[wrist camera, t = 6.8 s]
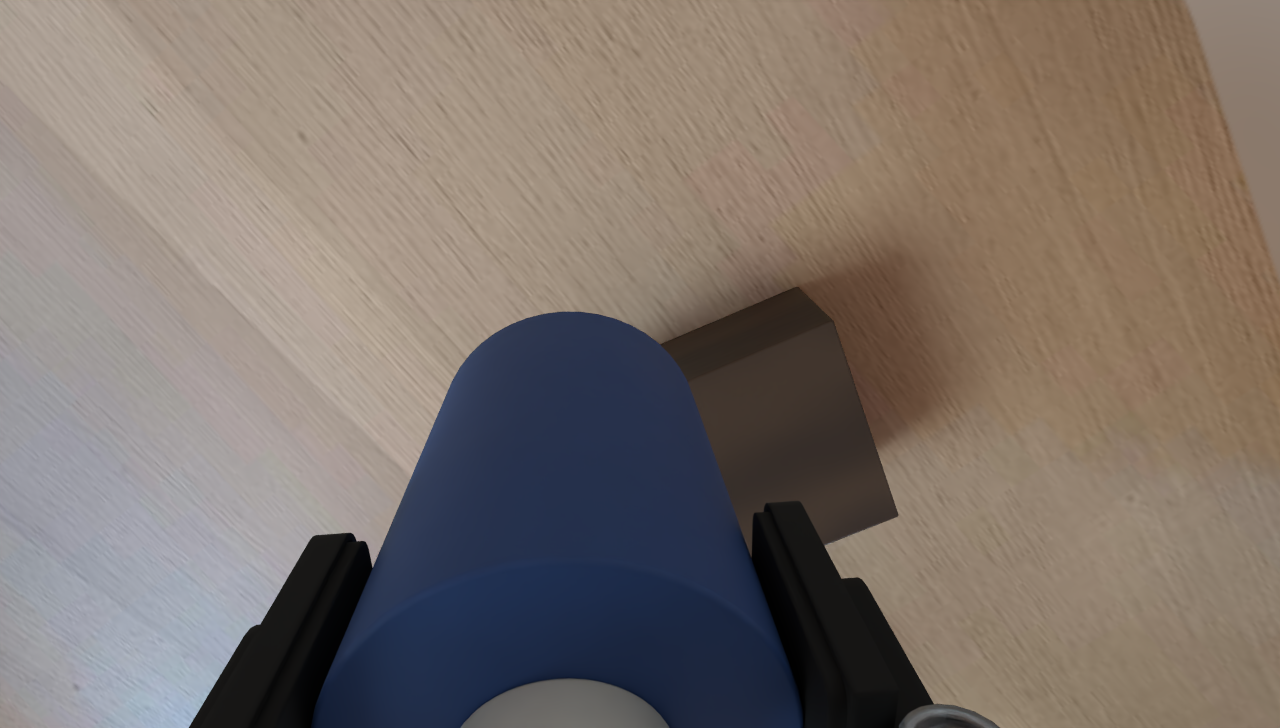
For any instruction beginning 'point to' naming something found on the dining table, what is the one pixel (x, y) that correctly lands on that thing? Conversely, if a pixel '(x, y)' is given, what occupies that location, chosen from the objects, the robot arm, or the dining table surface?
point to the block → (785, 416)
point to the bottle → (564, 556)
